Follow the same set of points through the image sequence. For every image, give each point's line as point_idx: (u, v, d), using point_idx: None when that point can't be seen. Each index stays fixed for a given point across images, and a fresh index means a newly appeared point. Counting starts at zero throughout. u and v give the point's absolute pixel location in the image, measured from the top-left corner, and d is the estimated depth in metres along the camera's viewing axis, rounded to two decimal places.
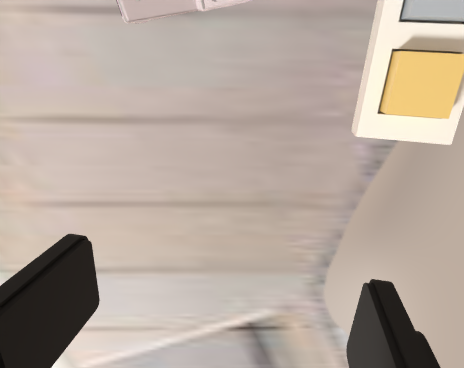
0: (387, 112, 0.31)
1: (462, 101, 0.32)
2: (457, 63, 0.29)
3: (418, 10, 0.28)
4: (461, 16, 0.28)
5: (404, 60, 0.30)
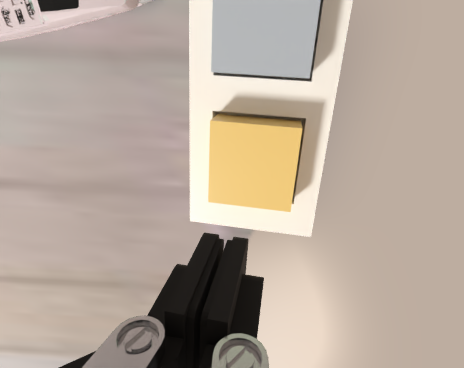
0: (209, 200, 0.22)
1: (316, 183, 0.23)
2: (288, 140, 0.20)
3: (221, 65, 0.19)
4: (282, 75, 0.18)
5: (217, 133, 0.20)
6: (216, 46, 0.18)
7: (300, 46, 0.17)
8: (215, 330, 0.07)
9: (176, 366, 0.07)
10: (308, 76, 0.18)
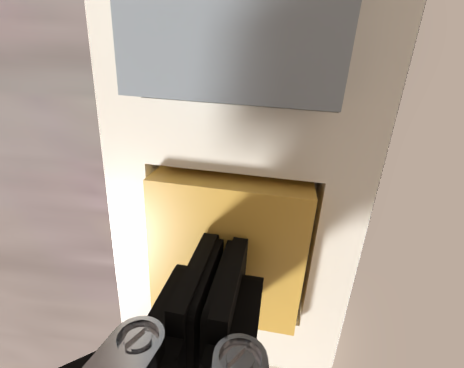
0: None
1: (342, 296, 0.12)
2: (290, 220, 0.10)
3: (138, 79, 0.08)
4: (276, 104, 0.08)
5: (157, 202, 0.11)
6: (123, 37, 0.08)
7: (322, 35, 0.07)
8: (215, 330, 0.07)
9: (176, 366, 0.07)
10: (338, 108, 0.08)
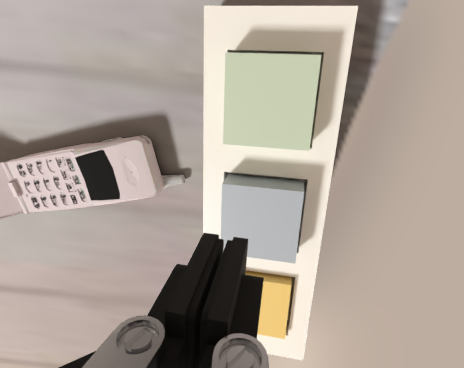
0: None
1: (305, 322, 0.28)
2: (281, 291, 0.26)
3: None
4: (274, 259, 0.24)
5: None
6: (224, 237, 0.24)
7: (287, 243, 0.23)
8: (215, 330, 0.07)
9: (176, 366, 0.07)
10: (294, 262, 0.24)
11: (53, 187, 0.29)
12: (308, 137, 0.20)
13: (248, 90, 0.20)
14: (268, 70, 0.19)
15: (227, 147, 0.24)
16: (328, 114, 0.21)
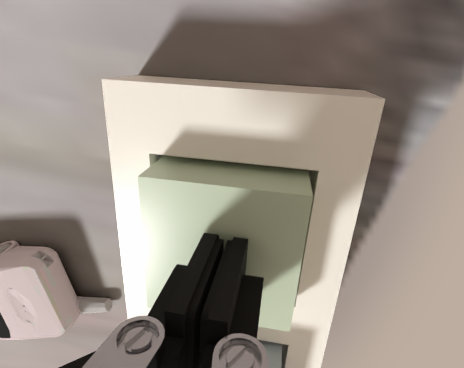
0: None
1: None
2: None
3: None
4: None
5: None
6: None
7: None
8: (215, 330, 0.07)
9: (176, 366, 0.07)
10: None
11: None
12: (288, 314, 0.12)
13: (182, 238, 0.11)
14: (215, 211, 0.11)
15: None
16: (323, 263, 0.13)
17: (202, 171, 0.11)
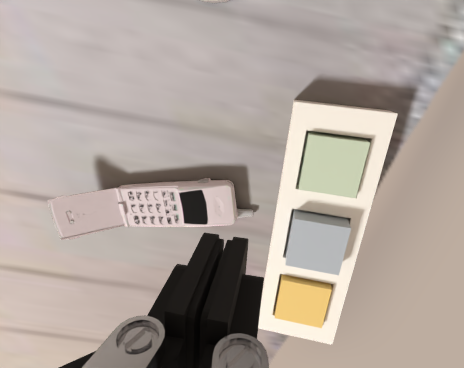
0: (275, 317, 0.39)
1: (337, 316, 0.38)
2: (323, 294, 0.37)
3: (291, 263, 0.35)
4: (324, 272, 0.34)
5: (284, 286, 0.37)
6: (290, 254, 0.34)
7: (335, 261, 0.34)
8: (215, 330, 0.07)
9: (176, 366, 0.07)
10: (338, 274, 0.34)
11: (153, 210, 0.39)
12: (356, 190, 0.32)
13: (320, 158, 0.32)
14: (335, 148, 0.31)
15: (296, 192, 0.34)
16: (370, 177, 0.32)
17: (328, 135, 0.32)
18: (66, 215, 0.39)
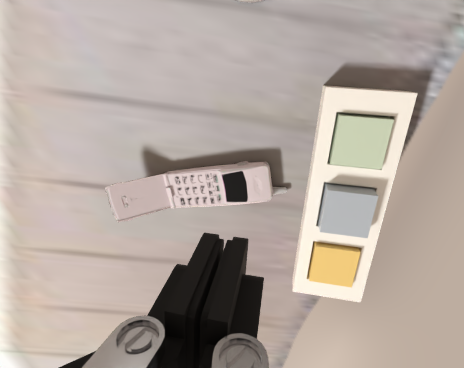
0: (310, 280, 0.44)
1: (365, 276, 0.44)
2: (353, 256, 0.42)
3: (325, 229, 0.40)
4: (354, 236, 0.39)
5: (318, 251, 0.43)
6: (324, 222, 0.39)
7: (364, 226, 0.39)
8: (215, 330, 0.07)
9: (176, 366, 0.07)
10: (367, 237, 0.39)
11: (198, 192, 0.44)
12: (381, 162, 0.37)
13: (350, 136, 0.36)
14: (363, 126, 0.36)
15: (328, 167, 0.39)
16: (394, 150, 0.37)
17: (355, 115, 0.36)
18: (121, 199, 0.44)
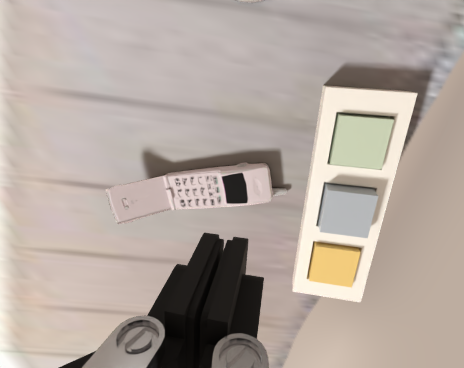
0: (310, 280, 0.44)
1: (365, 276, 0.44)
2: (353, 256, 0.42)
3: (325, 229, 0.40)
4: (354, 236, 0.39)
5: (318, 251, 0.43)
6: (324, 222, 0.39)
7: (364, 226, 0.39)
8: (215, 330, 0.07)
9: (176, 366, 0.07)
10: (367, 237, 0.39)
11: (198, 193, 0.44)
12: (381, 162, 0.37)
13: (350, 136, 0.36)
14: (363, 126, 0.36)
15: (328, 167, 0.39)
16: (394, 150, 0.37)
17: (355, 115, 0.36)
18: (121, 202, 0.44)
